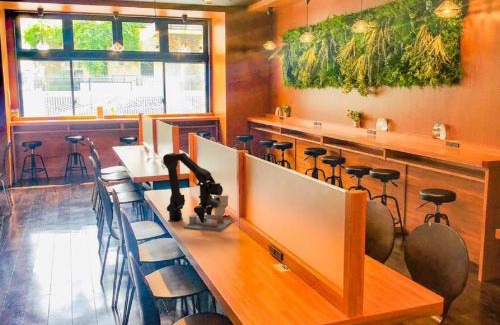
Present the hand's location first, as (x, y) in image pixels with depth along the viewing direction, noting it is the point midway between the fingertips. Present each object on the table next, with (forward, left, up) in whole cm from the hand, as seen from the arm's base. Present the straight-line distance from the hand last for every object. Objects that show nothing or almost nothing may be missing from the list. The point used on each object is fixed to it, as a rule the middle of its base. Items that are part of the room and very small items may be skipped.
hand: (205, 220), depth 279 cm
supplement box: (+2, +20, -3) cm, 21 cm away
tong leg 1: (+2, -3, -1) cm, 4 cm away
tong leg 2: (+2, +3, -1) cm, 4 cm away
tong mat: (+2, 0, -2) cm, 3 cm away
